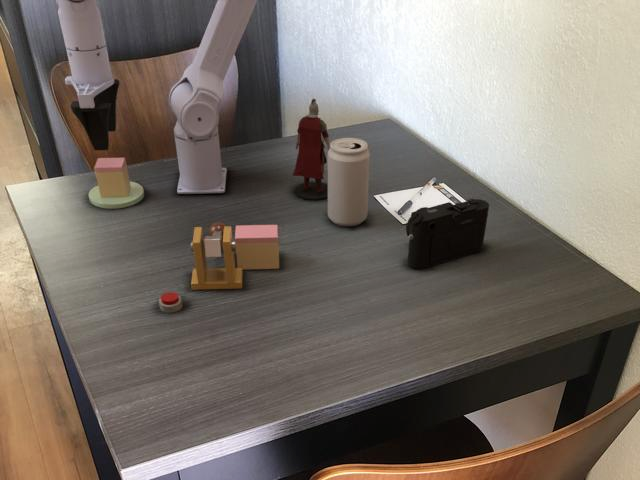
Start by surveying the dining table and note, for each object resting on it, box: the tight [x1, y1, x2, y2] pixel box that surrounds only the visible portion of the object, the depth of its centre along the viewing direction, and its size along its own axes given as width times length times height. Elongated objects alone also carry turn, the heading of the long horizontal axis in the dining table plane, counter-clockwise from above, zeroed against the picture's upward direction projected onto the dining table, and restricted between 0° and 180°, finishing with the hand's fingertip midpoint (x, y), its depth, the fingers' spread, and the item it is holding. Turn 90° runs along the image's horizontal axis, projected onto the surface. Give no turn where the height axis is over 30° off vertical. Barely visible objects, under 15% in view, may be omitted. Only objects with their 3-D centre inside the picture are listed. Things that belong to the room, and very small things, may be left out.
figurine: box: [291, 98, 330, 201], centre depth 119 cm, size 7×7×15 cm
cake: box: [234, 224, 280, 271], centre depth 106 cm, size 4×6×5 cm, turn 94°
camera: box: [405, 198, 490, 270], centre depth 108 cm, size 14×7×8 cm, turn 120°
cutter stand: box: [190, 225, 244, 291], centre depth 101 cm, size 4×7×7 cm, turn 94°
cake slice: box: [93, 157, 131, 197], centre depth 120 cm, size 4×4×5 cm
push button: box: [158, 291, 183, 314], centre depth 98 cm, size 3×3×2 cm
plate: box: [88, 180, 145, 210], centre depth 122 cm, size 9×9×1 cm
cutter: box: [203, 221, 227, 258], centre depth 104 cm, size 13×3×3 cm, turn 4°
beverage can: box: [327, 137, 371, 227], centre depth 113 cm, size 6×6×12 cm
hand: (105, 139), depth 116 cm, fingers open, 7 cm apart
